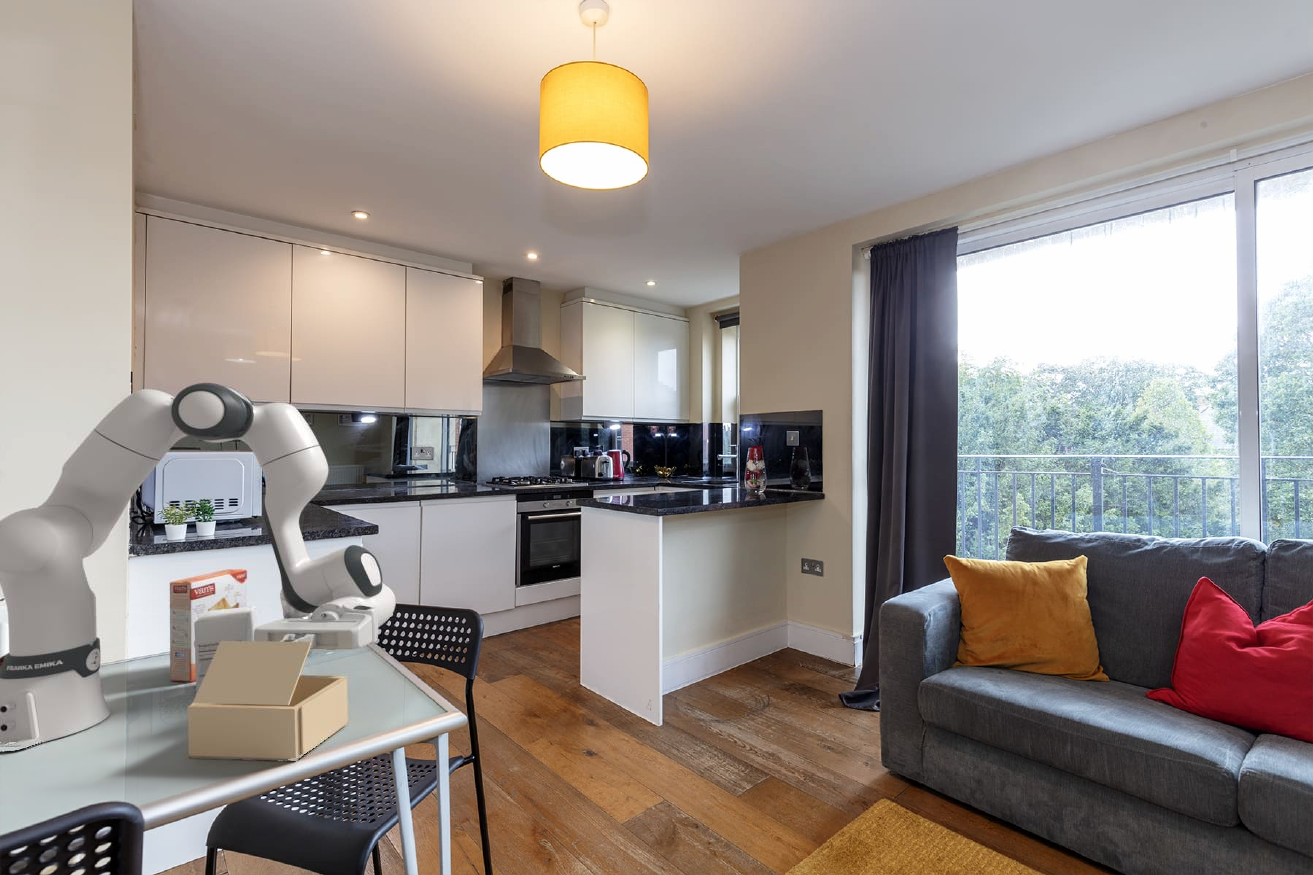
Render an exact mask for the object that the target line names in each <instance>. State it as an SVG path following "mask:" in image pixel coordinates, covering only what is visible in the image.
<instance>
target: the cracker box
mask: <svg viewBox="0 0 1313 875" xmlns="http://www.w3.org/2000/svg"><path fill="white" fill-rule="evenodd" d="M242 607H248V571H247V570H246V569H240V568H239V569H234V568H233V569H231V568H230V569H223V570H219V571H214V572H210V573H206V574H205V573H204V574H201V575H196V576H192V577H187V578H184V579H178V580H173V581H170V583H169V662H170V663H169V664H170V666H169V676H170V678H169V679H170V680H169V681H176V682H188V683H192V682H196V667H195V628H194V622H195V621H197V620H198V619H199V618H200V617H202V616H203V615H204V614H205V613H207V612H208V611H212V610H221V609H233V608H242Z"/></svg>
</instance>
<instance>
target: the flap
mask: <svg viewBox="0 0 1313 875" xmlns="http://www.w3.org/2000/svg"><path fill="white" fill-rule="evenodd" d="M311 644H312V642H276V641H220V644H219V646H218V648H217V650H216V653H215V655H214V657H213V659H212V661H211V664H210V666H209V668H208V670H207V672H206V675H205V677H204V679H203V681H202V684H201V686H200V688H199V690H198V692H197V695H196V694H195V697H194V699H193V701H192V703H215V704H262V705H289V704H290V701H291V699H292V696H293V693H294V690H295V688H296V685H297V682H298V679H299V677H300V675H302V671H303V668H304V666H305V663H306V659H307V657H308V655H309V654H308V652H309V649H310V647H311Z"/></svg>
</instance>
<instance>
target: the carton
mask: <svg viewBox="0 0 1313 875" xmlns="http://www.w3.org/2000/svg"><path fill="white" fill-rule="evenodd" d="M348 685H349V684H348V676H344V675H309V674H307V675H302V674H300V677H299V679H298V682H297V685H296V688H295V690H294V693H293V696H292V699H291V701H290V704H289V705H262V704H215V703H193V702H192V703H191V704H190V705H188V706H187V732H188V733H187V734H188V736H187V738H188V759H194V760H195V759H198V760H199V759H201V760H202V759H203V760H227V761H228V760H230V759H231V760H232V759H247V760H246V761H256V760H288V759H291V758H297V757H298V756H299V755H301V754H305V753H307V752H308V751H310V750H311V751H313V750H314V749H316V748H317V747H319V745H321V744H322V743H324V742H325V741H326V740H327V739H329V738H331V736H333V735H335V734H336V733H338V731H340V730H341V729H342V728H344V727H345V726H347V725H348V724H349V697H348V696H349V690H348V689H349V688H348V687H349V686H348ZM328 737H329V738H328ZM324 740H325V741H324ZM320 743H321V744H320ZM316 746H317V747H316ZM313 748H314V749H313ZM312 749H313V750H312ZM311 751H310V752H311ZM308 753H309V752H308ZM308 753H307V754H308ZM249 759H250V760H249Z"/></svg>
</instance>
